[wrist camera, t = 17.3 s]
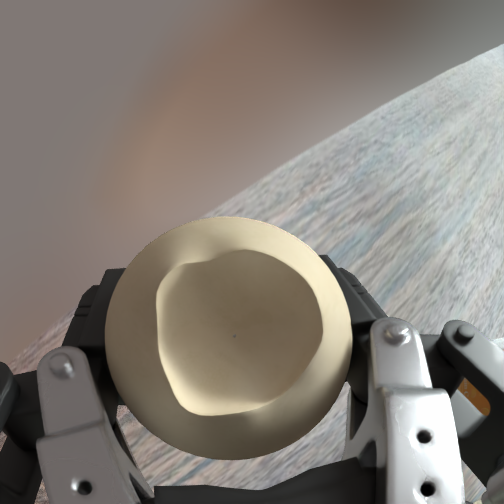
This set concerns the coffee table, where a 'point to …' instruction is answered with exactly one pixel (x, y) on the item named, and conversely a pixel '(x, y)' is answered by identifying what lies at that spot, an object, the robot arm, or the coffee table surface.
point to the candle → (228, 338)
